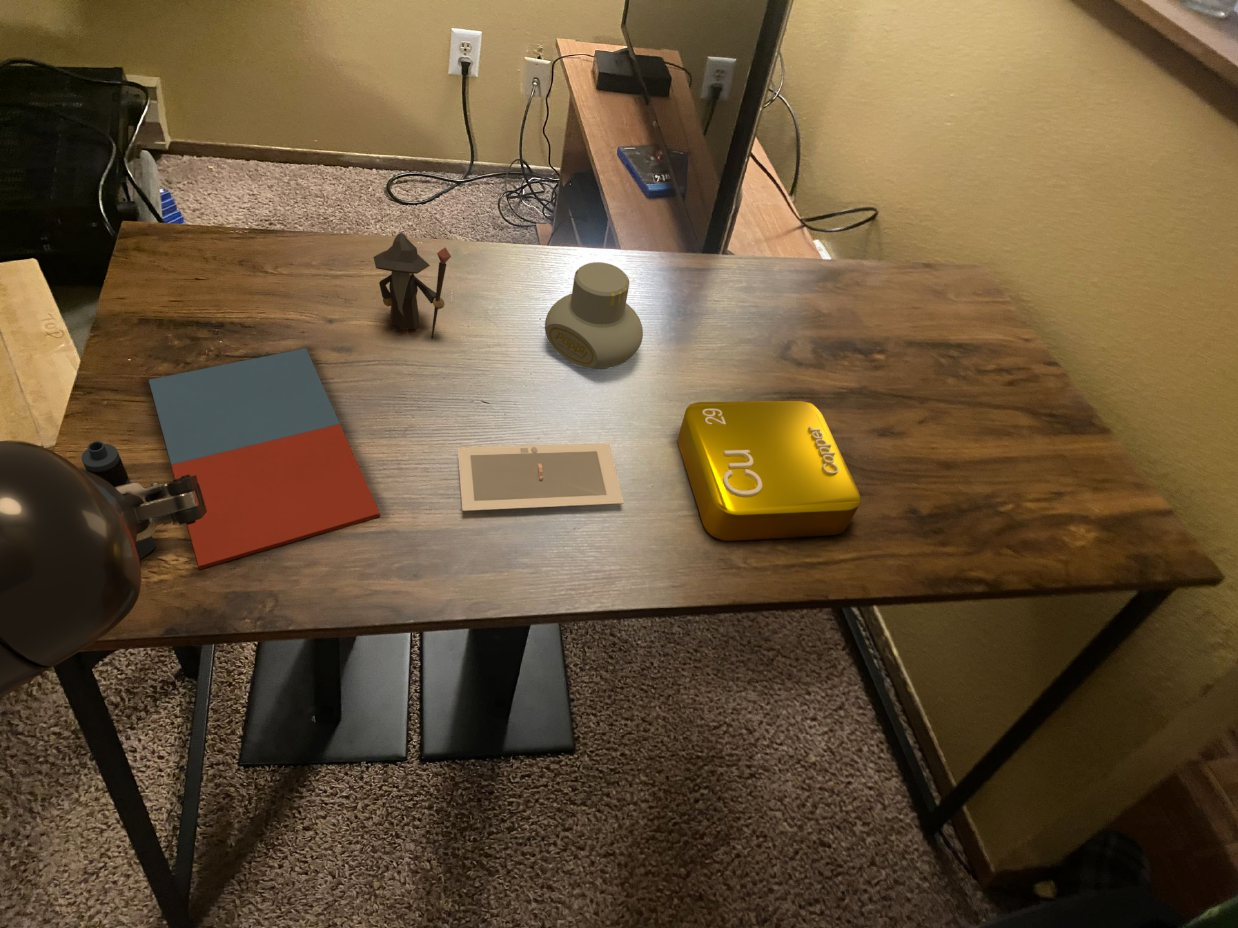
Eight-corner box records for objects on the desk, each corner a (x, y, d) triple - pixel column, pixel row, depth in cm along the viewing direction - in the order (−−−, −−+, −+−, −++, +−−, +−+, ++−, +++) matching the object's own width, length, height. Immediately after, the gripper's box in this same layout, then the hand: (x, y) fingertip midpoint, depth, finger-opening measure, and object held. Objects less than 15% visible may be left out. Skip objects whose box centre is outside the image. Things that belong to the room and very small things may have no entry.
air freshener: (649, 356, 96) (666, 284, 89) (607, 390, 91) (621, 317, 83) (575, 313, 99) (585, 240, 92) (530, 343, 94) (537, 269, 87)
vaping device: (163, 544, 69) (123, 445, 61) (105, 585, 66) (53, 486, 57) (143, 529, 70) (100, 428, 62) (84, 569, 67) (30, 468, 58)
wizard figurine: (372, 337, 91) (364, 242, 82) (383, 306, 95) (376, 212, 86) (449, 347, 92) (449, 253, 83) (456, 316, 95) (457, 223, 87)
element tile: (852, 536, 82) (870, 504, 78) (707, 543, 78) (719, 511, 75) (803, 427, 91) (817, 395, 88) (672, 430, 88) (682, 397, 85)
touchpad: (622, 510, 79) (625, 495, 78) (462, 518, 76) (462, 502, 74) (607, 450, 85) (610, 435, 83) (457, 455, 81) (457, 439, 80)
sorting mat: (199, 569, 68) (198, 566, 68) (149, 383, 81) (148, 379, 81) (380, 516, 75) (379, 513, 74) (306, 351, 88) (306, 347, 87)
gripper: (178, 432, 42) (186, 437, 57) (-178, 512, 36) (-67, 495, 51) (221, 571, 43) (218, 541, 58) (-119, 672, 37) (-27, 611, 52)
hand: (84, 520), depth 54 cm, fingers open, 8 cm apart
